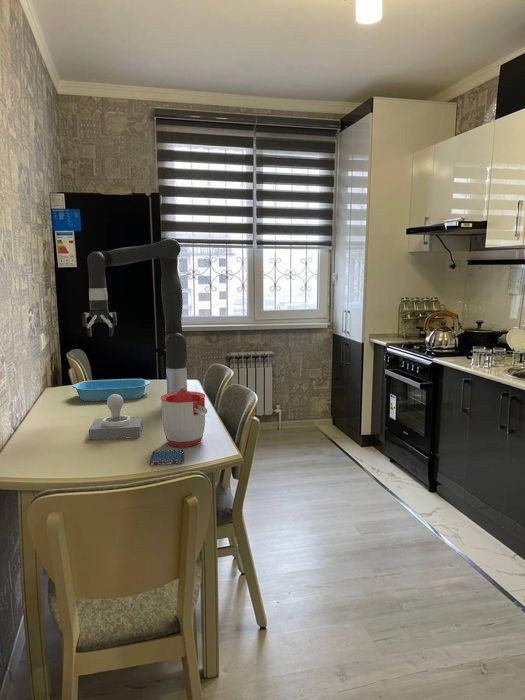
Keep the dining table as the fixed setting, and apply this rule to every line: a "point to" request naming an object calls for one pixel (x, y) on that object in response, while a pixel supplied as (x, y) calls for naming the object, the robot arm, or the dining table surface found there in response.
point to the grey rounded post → (115, 406)
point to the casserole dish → (111, 389)
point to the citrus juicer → (183, 417)
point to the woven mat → (167, 456)
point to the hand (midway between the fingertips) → (100, 336)
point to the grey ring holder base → (116, 427)
